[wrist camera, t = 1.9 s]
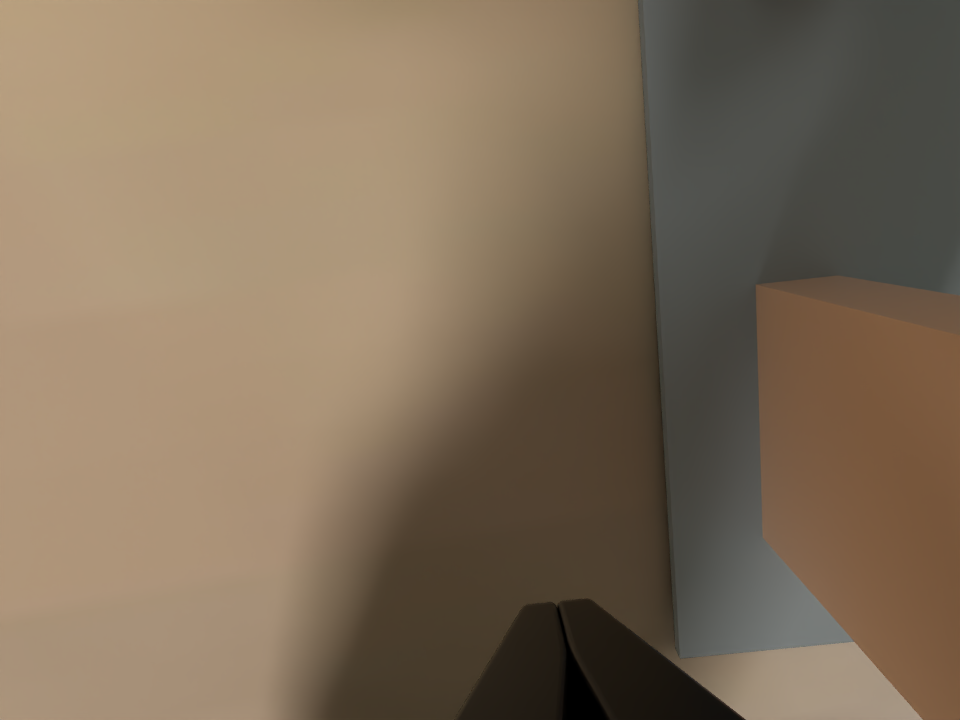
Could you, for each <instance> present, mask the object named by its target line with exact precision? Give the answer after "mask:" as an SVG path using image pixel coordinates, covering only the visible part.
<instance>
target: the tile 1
mask: <svg viewBox="0 0 960 720" xmlns="http://www.w3.org/2000/svg"><path fill="white" fill-rule="evenodd" d="M756 316H757V352H758V388H759V423H760V459H761V495H762V531H763V538H764V540H765V541H766V542H767V543H768V544H769V545H770V546H771V547H772V549H773V550H774V551H775V552H776V553H777V554H778V555H779V557H780V558H781V559H782V560H783V561H784V562H785V563H786V565H787V566H788V567H789V568H790V569H791V570H792V571H793V572H794V574H795V575H796V576H797V577H798V578H799V579H800V580H801V582H802V583H803V584H804V585H805V586H806V587H807V588H808V589H809V591H810V592H811V593H812V594H813V595H814V596H815V597H816V599H817V600H818V601H819V602H820V603H821V604H822V605H823V607H824V608H825V609H826V610H827V611H828V612H829V613H830V614H831V616H832V617H833V618H834V619H835V620H836V621H837V622H838V624H839V625H840V626H841V627H842V628H843V629H844V630H845V632H846V633H847V634H848V635H849V636H850V637H851V638H852V639H853V641H854V642H855V643H856V644H857V645H858V646H859V647H860V649H861V650H862V651H863V652H864V653H865V654H866V655H867V656H868V658H869V659H870V660H871V661H872V662H873V663H874V664H875V666H876V667H877V668H878V669H879V670H880V671H881V672H882V674H883V675H884V676H885V677H886V678H887V679H888V680H889V681H890V683H891V684H892V685H893V686H894V687H895V688H896V689H897V691H898V692H899V693H900V694H901V695H902V696H903V697H904V699H905V700H906V701H907V702H908V703H909V704H910V705H911V706H912V708H913V709H914V710H915V711H916V712H917V713H918V714H919V716H920V717H921V718H922V719H923V720H960V296H959V295H953V294H947V293H941V292H935V291H929V290H923V289H917V288H911V287H905V286H899V285H893V284H887V283H881V282H875V281H869V280H863V279H857V278H851V277H845V276H839V275H838V276H829V277H819V278H810V279H801V280H792V281H783V282H773V283H764V284H756Z"/></svg>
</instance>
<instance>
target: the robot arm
mask: <svg viewBox="0 0 960 720" xmlns="http://www.w3.org/2000/svg"><path fill="white" fill-rule="evenodd" d="M454 720H746V719H744V718H743V717H742V716H740V715H739V714H738V713H737V712H735V711H734V710H733V709H731V708H730V707H729V706H727V705H726V704H725V703H724V702H722V701H721V700H720V699H718V698H717V697H716V696H715V695H713V694H712V693H711V692H709V691H708V690H707V689H706V688H704V687H703V686H702V685H700V684H699V683H698V682H697V681H695V680H694V679H693V678H691V677H690V676H689V675H688V674H686V673H685V672H684V671H682V670H681V669H680V668H679V667H677V666H676V665H675V664H673V663H672V662H671V661H670V660H668V659H667V658H666V657H664V656H663V655H662V654H661V653H659V652H658V651H657V650H655V649H654V648H653V647H651V646H650V645H649V644H648V643H646V642H645V641H644V640H642V639H641V638H640V637H639V636H637V635H636V634H635V633H633V632H632V631H631V630H630V629H628V628H627V627H626V626H624V625H623V624H622V623H621V622H619V621H618V620H617V619H615V618H614V617H613V616H612V615H610V614H609V613H608V612H606V611H605V610H604V609H603V608H601V607H600V606H599V605H597V604H596V603H595V602H594V601H592V600H590V599H587V598H585V599H575V600H566V601H561V602H560V603H559V604H558V606H556V605H555V604H554V603H552V602H547V603H537V604H528V605H525V606H523V607H522V609H521V610H520V612H519V614H518V615H517V617H516V619H515V620H514V622H513V624H512V625H511V627H510V628H509V630H508V632H507V633H506V635H505V637H504V638H503V640H502V642H501V643H500V645H499V647H498V648H497V650H496V652H495V653H494V655H493V657H492V658H491V660H490V661H489V663H488V665H487V666H486V668H485V670H484V671H483V673H482V675H481V676H480V678H479V680H478V681H477V683H476V685H475V686H474V688H473V689H472V691H471V693H470V694H469V696H468V698H467V699H466V701H465V703H464V704H463V706H462V708H461V709H460V711H459V713H458V714H457V716H456V717H455V719H454Z"/></svg>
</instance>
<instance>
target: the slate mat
mask: <svg viewBox="0 0 960 720" xmlns="http://www.w3.org/2000/svg"><path fill="white" fill-rule="evenodd" d="M638 8H639V25H640V42H641V60H642V77H643V94H644V112H645V129H646V146H647V164H648V181H649V198H650V216H651V233H652V250H653V267H654V285H655V302H656V319H657V337H658V354H659V371H660V389H661V406H662V423H663V441H664V458H665V475H666V493H667V510H668V527H669V545H670V562H671V579H672V597H673V614H674V631H675V649H676V651H677V653H678V655H679V657H680V659H681V658H692V657H702V656H712V655H722V654H733V653H743V652H753V651H764V650H774V649H784V648H794V647H805V646H815V645H825V644H835V643H846V642H854V641H853V639H852V638H851V637H850V636H849V635H848V634H847V633H846V632H845V630H844V629H843V628H842V627H841V626H840V625H839V624H838V622H837V621H836V620H835V619H834V618H833V617H832V616H831V614H830V613H829V612H828V611H827V610H826V609H825V608H824V607H823V605H822V604H821V603H820V602H819V601H818V600H817V599H816V597H815V596H814V595H813V594H812V593H811V592H810V591H809V589H808V588H807V587H806V586H805V585H804V584H803V583H802V582H801V580H800V579H799V578H798V577H797V576H796V575H795V574H794V572H793V571H792V570H791V569H790V568H789V567H788V566H787V565H786V563H785V562H784V561H783V560H782V559H781V558H780V557H779V555H778V554H777V553H776V552H775V551H774V550H773V549H772V547H771V546H770V545H769V544H768V543H767V542H766V541H765V540H764V538H763V531H762V495H761V459H760V423H759V388H758V352H757V316H756V284H764V283H773V282H783V281H792V280H801V279H810V278H819V277H829V276H838V275H839V276H845V277H851V278H857V279H863V280H869V281H875V282H881V283H887V284H893V285H899V286H905V287H911V288H917V289H923V290H929V291H935V292H941V293H947V294H953V295H959V296H960V0H638Z"/></svg>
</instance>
